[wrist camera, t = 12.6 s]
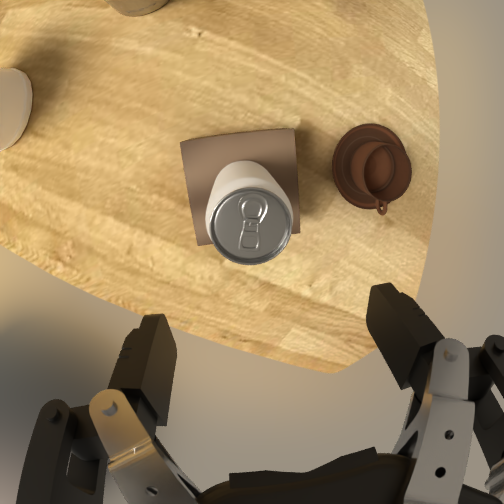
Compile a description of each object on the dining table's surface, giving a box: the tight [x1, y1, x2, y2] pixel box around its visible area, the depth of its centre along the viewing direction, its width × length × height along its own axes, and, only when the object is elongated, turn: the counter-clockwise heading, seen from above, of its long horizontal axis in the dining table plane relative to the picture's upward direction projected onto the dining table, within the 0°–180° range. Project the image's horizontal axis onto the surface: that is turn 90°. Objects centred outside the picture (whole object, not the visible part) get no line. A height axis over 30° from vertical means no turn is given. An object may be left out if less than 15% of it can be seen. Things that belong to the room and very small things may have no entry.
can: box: [205, 161, 293, 265], centre depth 24 cm, size 6×6×12 cm
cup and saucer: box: [332, 124, 412, 215], centre depth 32 cm, size 12×12×6 cm
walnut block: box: [180, 128, 300, 246], centre depth 32 cm, size 12×12×6 cm
